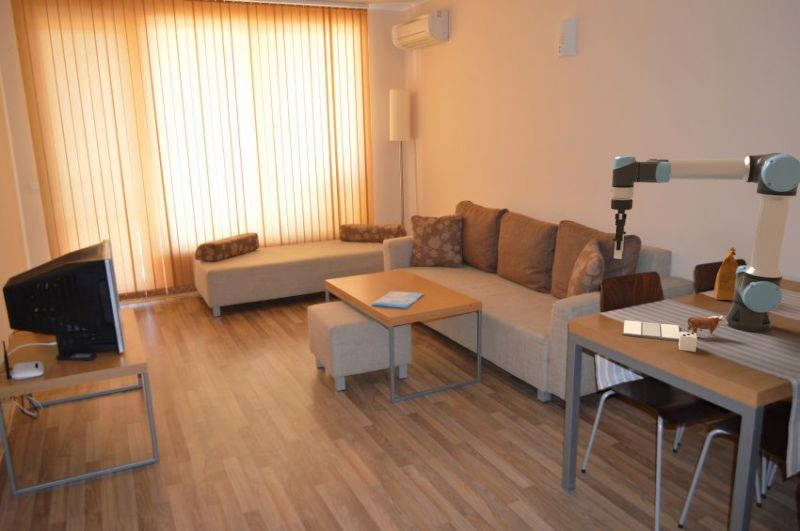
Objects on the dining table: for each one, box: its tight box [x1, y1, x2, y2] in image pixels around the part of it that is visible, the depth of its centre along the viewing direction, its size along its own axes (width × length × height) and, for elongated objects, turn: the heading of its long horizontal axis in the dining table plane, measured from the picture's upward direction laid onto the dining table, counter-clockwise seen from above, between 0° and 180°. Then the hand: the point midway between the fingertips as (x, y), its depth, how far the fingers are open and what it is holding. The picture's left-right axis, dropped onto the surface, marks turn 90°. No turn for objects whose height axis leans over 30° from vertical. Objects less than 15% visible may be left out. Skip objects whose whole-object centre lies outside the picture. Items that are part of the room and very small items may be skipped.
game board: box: [622, 319, 681, 342], centre depth 225 cm, size 20×16×1 cm
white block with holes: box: [678, 331, 698, 353], centre depth 207 cm, size 5×5×6 cm
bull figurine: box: [687, 315, 728, 339], centre depth 218 cm, size 4×13×8 cm, turn 78°
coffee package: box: [713, 246, 740, 302], centre depth 263 cm, size 10×12×22 cm
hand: (618, 254), depth 228 cm, fingers open, 13 cm apart
